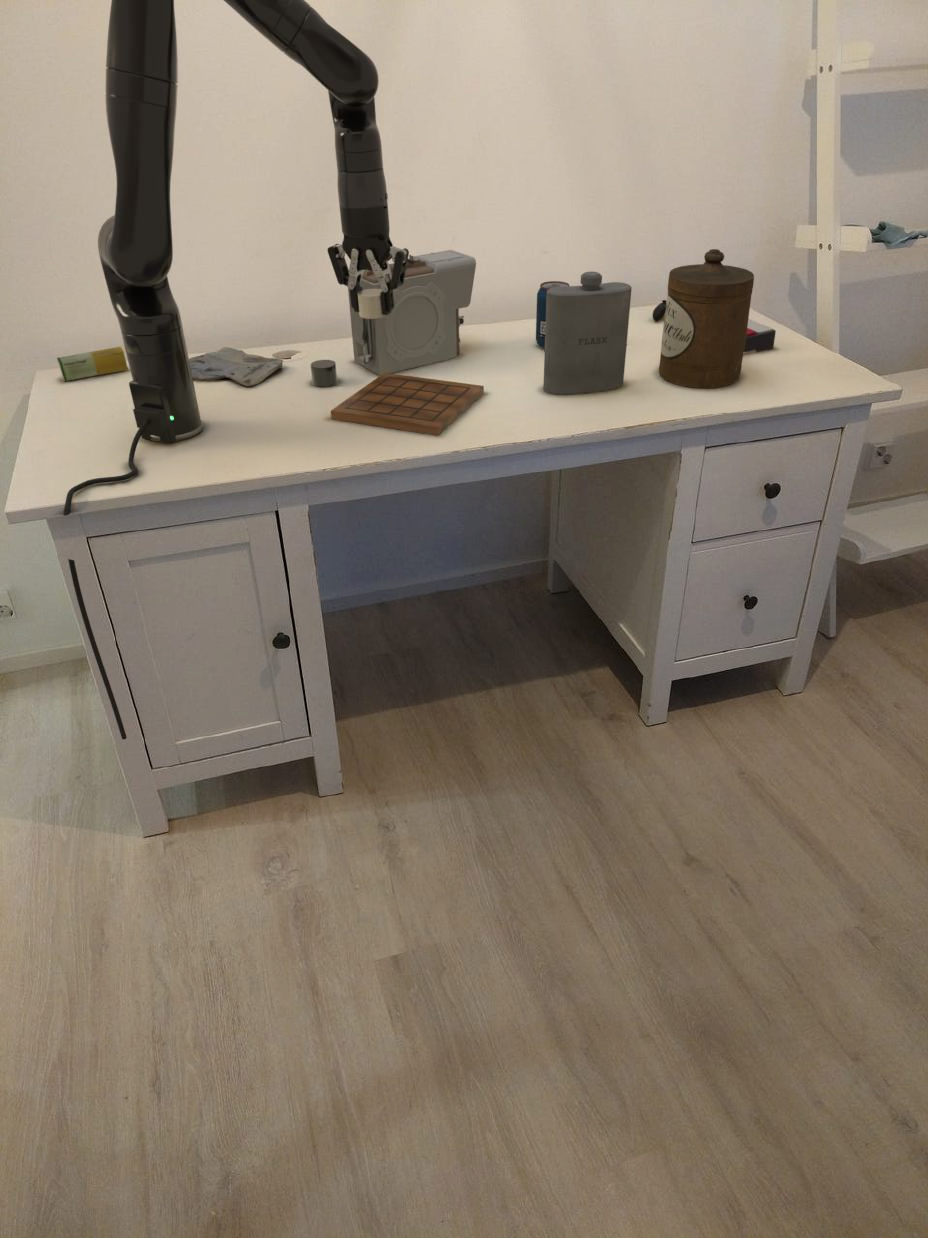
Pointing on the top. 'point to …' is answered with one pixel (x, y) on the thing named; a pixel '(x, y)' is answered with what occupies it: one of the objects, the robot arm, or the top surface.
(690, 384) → the wooden container
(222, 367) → the fossil rock
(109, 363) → the medication box
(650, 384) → the top surface
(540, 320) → the soda can
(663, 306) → the dark grey oval piece
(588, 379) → the flask
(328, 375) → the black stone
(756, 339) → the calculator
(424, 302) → the portable television
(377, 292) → the ivory stone
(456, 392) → the board
